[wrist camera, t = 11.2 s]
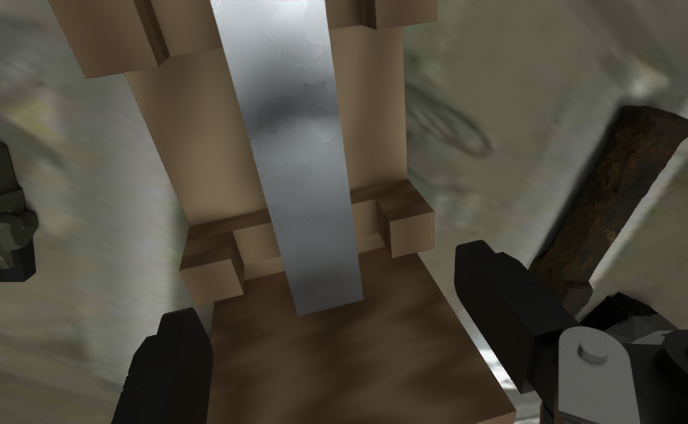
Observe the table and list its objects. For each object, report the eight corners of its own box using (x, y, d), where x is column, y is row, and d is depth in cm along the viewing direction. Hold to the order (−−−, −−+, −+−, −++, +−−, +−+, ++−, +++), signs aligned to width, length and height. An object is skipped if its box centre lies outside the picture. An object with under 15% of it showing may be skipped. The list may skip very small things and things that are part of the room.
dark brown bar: (615, 95, 30) (683, 116, 25) (656, 108, 31) (727, 129, 27) (491, 303, 40) (522, 345, 35) (526, 305, 42) (560, 346, 37)
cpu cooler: (586, 383, 42) (658, 321, 38) (551, 342, 47) (612, 284, 43) (633, 394, 46) (701, 340, 43) (597, 356, 51) (656, 304, 47)
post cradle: (390, -103, 20) (686, -287, 6) (404, 244, 33) (513, 423, 19) (74, -65, 18) (-433, -210, 5) (221, 288, 31) (200, 520, 17)
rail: (299, -36, 18) (318, -43, 13) (342, 241, 27) (363, 299, 22) (215, -24, 17) (202, -28, 12) (288, 254, 27) (297, 316, 22)
